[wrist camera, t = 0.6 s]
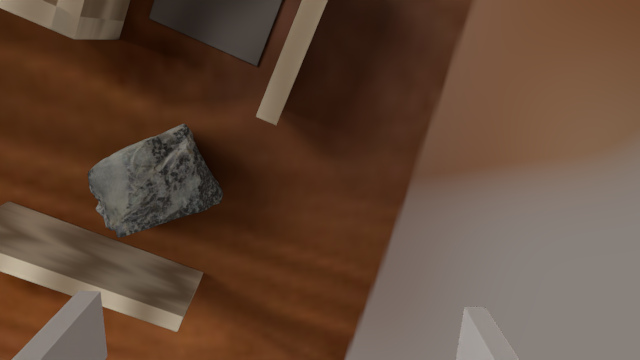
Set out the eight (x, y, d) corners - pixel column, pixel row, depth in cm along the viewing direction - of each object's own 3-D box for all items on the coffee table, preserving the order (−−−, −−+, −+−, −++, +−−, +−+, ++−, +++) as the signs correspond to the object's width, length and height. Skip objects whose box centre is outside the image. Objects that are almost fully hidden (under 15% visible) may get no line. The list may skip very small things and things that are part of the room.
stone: (131, 281, 30) (139, 140, 27) (66, 224, 36) (66, 102, 33) (238, 245, 38) (254, 131, 35) (171, 203, 43) (179, 102, 40)
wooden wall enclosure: (5, 215, 39) (-58, 251, 33) (101, -169, 31) (43, -227, 24) (208, 289, 42) (189, 336, 35) (347, -47, 34) (356, -69, 27)
